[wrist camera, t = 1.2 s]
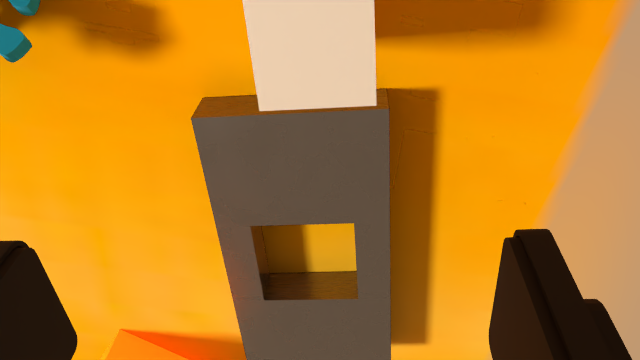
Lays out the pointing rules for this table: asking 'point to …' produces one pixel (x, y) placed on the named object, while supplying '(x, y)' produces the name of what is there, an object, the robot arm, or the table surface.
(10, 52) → the teal plastic figure
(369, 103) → the square peg
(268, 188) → the grey peg hole board
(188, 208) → the table surface
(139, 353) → the orange juice
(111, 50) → the table surface
